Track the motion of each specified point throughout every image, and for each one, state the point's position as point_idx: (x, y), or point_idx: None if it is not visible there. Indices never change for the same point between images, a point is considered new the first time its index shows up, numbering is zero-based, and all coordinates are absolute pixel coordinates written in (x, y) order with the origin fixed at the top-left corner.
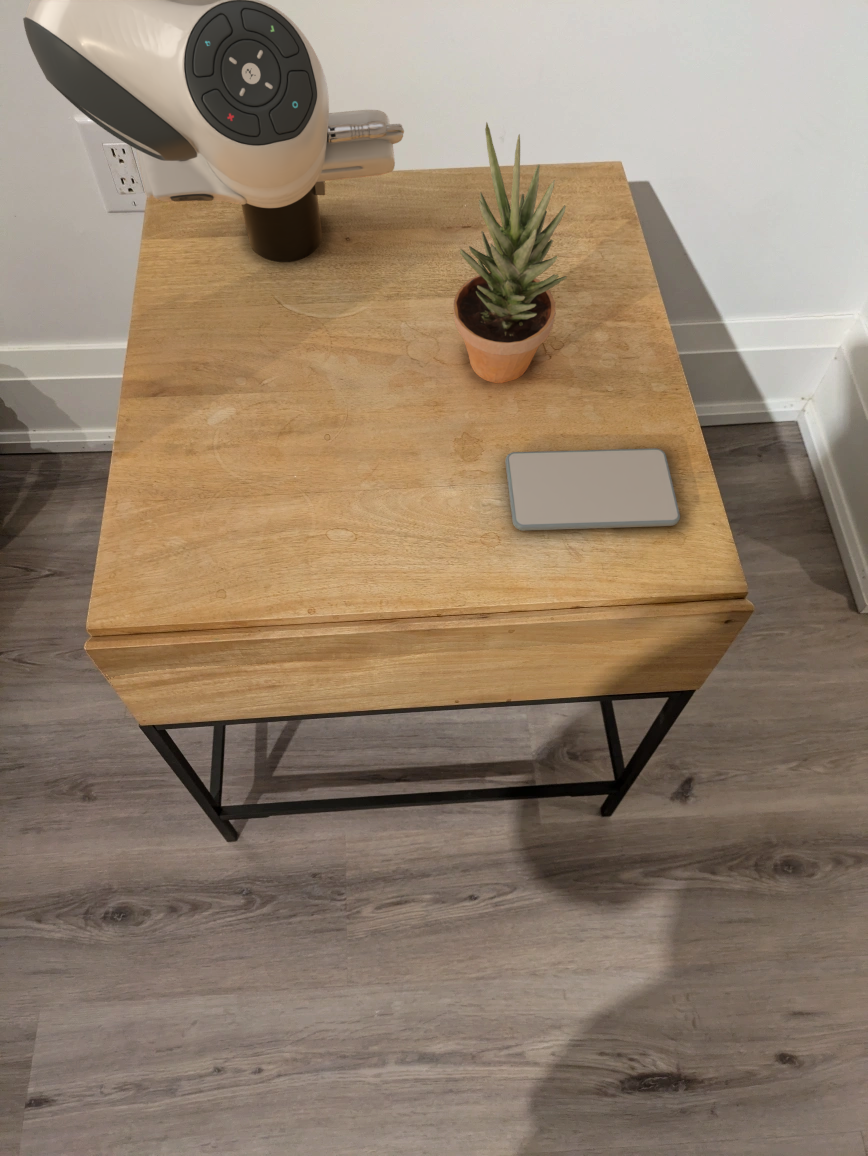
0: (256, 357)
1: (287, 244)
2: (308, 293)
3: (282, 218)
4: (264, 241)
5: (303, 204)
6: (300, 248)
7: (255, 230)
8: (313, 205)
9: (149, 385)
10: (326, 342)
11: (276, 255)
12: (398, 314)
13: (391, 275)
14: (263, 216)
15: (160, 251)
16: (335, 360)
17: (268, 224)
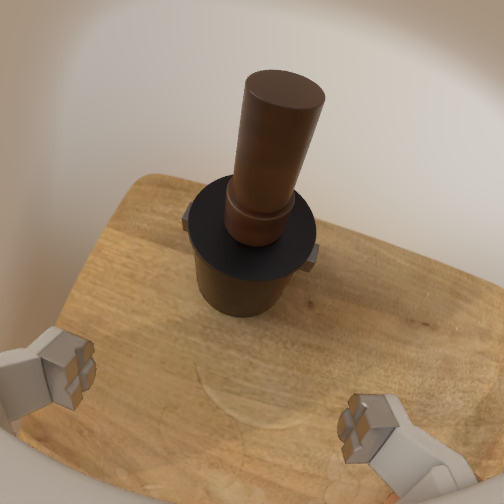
0: (146, 450)
1: (235, 308)
2: (239, 377)
3: (238, 293)
4: (208, 293)
5: (275, 286)
6: (251, 312)
7: (201, 279)
8: (288, 280)
9: (36, 424)
10: (236, 461)
11: (219, 308)
12: (334, 440)
13: (344, 377)
14: (213, 281)
15: (105, 245)
16: (238, 489)
17: (217, 289)
